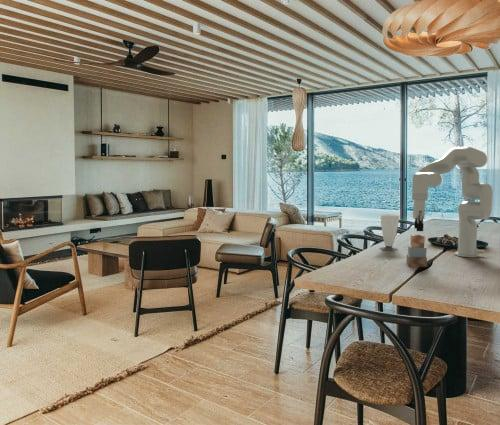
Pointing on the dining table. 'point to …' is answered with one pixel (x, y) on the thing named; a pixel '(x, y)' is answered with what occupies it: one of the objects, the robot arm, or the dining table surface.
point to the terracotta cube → (417, 240)
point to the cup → (389, 230)
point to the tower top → (416, 251)
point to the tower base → (416, 261)
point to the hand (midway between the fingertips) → (418, 229)
